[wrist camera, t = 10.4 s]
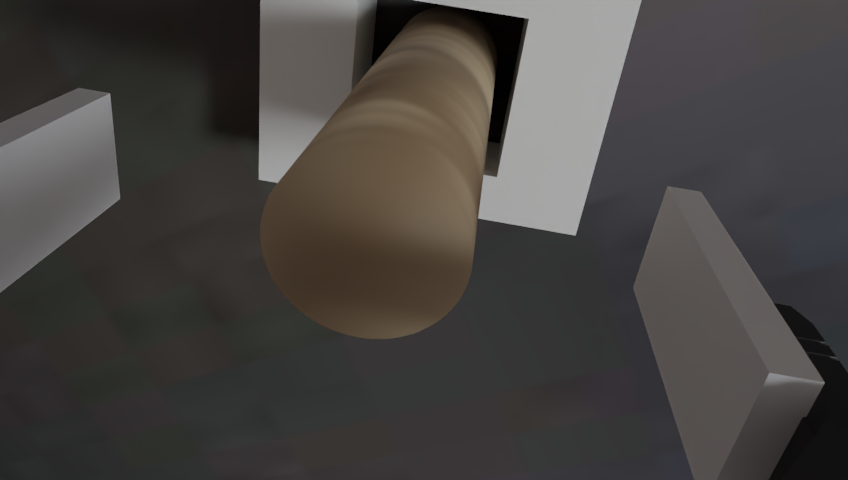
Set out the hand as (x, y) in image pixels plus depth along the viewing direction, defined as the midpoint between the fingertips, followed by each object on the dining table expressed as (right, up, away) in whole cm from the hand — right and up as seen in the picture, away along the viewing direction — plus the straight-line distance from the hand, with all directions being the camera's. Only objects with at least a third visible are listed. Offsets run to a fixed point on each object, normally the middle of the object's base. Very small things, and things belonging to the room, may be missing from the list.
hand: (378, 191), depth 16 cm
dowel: (+2, +6, +10) cm, 11 cm away
